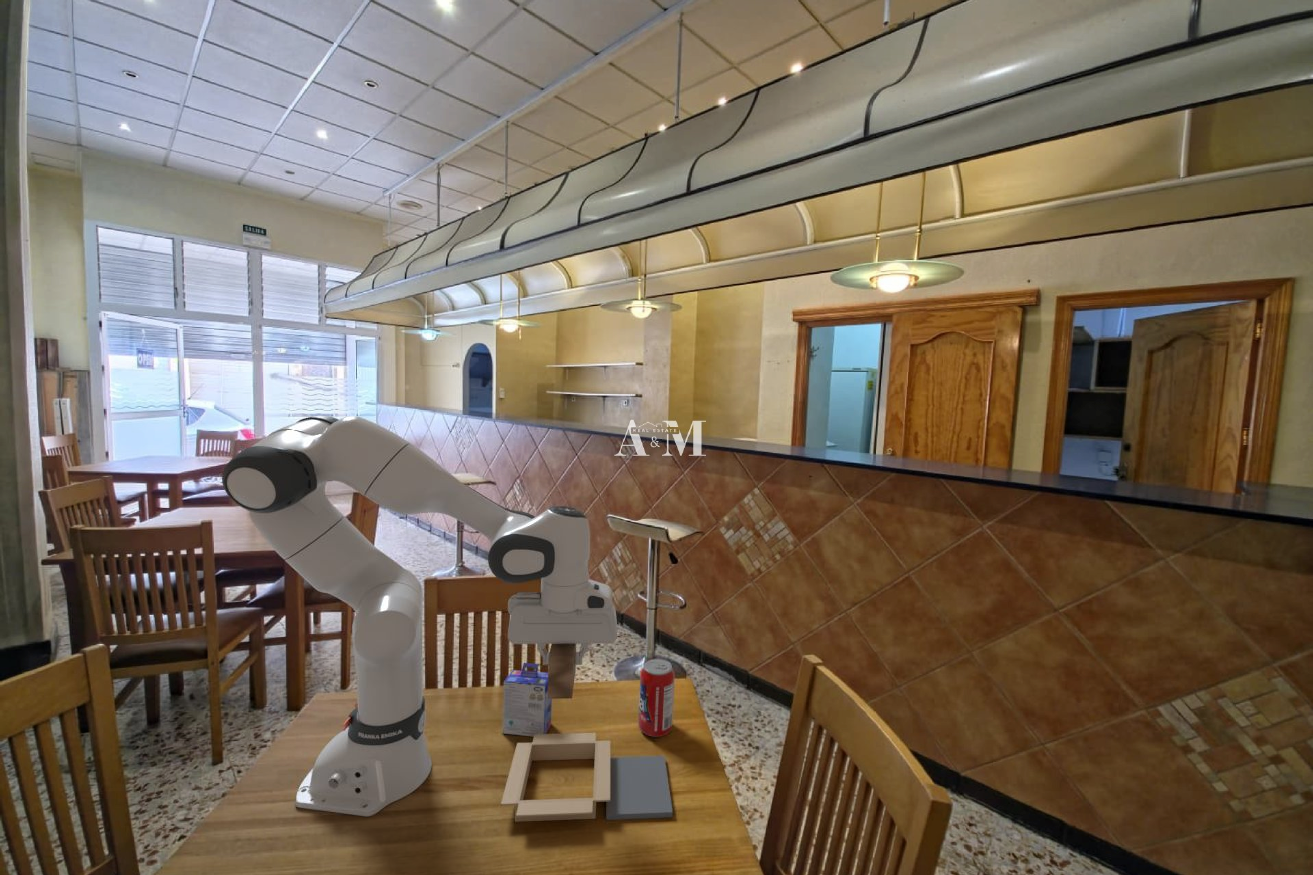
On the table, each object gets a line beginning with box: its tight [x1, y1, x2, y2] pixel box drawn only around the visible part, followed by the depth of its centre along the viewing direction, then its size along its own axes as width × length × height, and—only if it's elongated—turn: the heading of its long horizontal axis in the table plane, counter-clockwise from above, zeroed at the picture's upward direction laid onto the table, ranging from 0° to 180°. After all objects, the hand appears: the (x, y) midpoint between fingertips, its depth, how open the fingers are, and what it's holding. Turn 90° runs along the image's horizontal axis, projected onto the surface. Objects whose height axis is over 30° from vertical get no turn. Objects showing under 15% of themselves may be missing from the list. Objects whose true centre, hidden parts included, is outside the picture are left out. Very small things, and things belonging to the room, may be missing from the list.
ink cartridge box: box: [501, 662, 553, 738], centre depth 110 cm, size 10×6×14 cm, turn 84°
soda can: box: [638, 658, 676, 738], centre depth 112 cm, size 8×8×15 cm
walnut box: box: [547, 644, 577, 700], centre depth 93 cm, size 4×9×8 cm, turn 5°
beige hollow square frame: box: [500, 732, 611, 823], centre depth 95 cm, size 19×20×4 cm
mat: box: [605, 755, 674, 821], centre depth 95 cm, size 12×14×1 cm
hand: (562, 663), depth 93 cm, fingers closed on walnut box, 4 cm apart
